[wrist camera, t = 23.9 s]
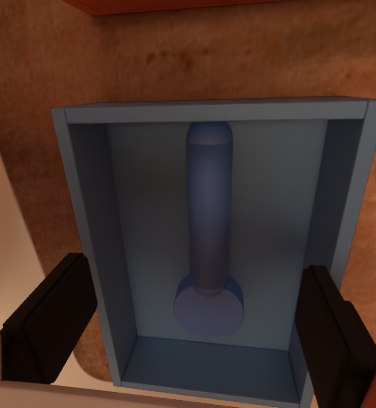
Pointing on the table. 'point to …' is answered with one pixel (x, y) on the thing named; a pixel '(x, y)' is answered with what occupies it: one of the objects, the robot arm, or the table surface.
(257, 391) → the blue bin
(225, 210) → the blue spoon
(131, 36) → the table surface
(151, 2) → the red bin
